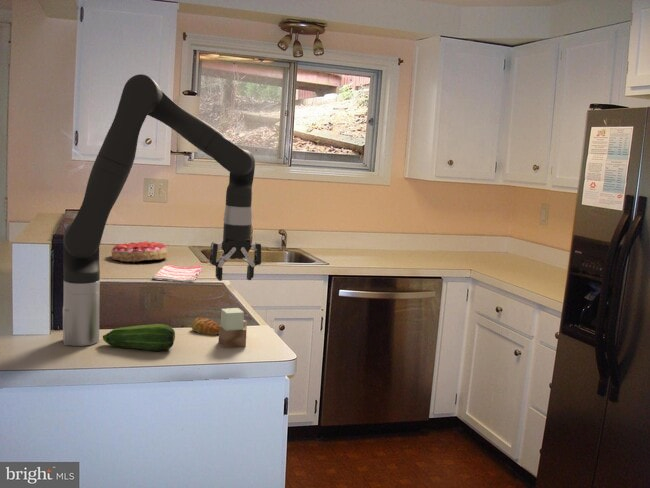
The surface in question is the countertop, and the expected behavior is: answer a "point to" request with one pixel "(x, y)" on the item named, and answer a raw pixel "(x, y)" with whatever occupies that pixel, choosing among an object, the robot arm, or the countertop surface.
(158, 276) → the dish towel
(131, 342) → the vegetable
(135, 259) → the cake
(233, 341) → the walnut block
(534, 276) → the countertop surface
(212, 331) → the pastry
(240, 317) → the sage cube
